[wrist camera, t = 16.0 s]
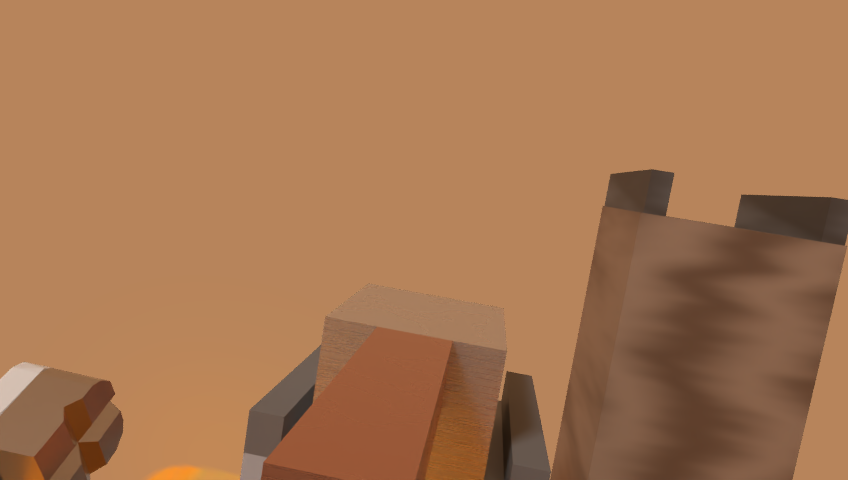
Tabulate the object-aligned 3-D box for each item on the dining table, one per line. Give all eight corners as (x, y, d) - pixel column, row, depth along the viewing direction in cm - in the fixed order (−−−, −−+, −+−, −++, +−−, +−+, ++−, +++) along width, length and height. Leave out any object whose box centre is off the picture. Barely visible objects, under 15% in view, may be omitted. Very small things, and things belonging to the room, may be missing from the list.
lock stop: (483, 418, 27) (503, 308, 27) (466, 797, 10) (519, 517, 10) (351, 392, 28) (368, 283, 27) (131, 710, 11) (164, 440, 10)
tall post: (685, 620, 41) (778, 201, 38) (764, 798, 29) (908, 207, 26) (505, 579, 42) (582, 170, 39) (510, 734, 30) (620, 163, 27)
